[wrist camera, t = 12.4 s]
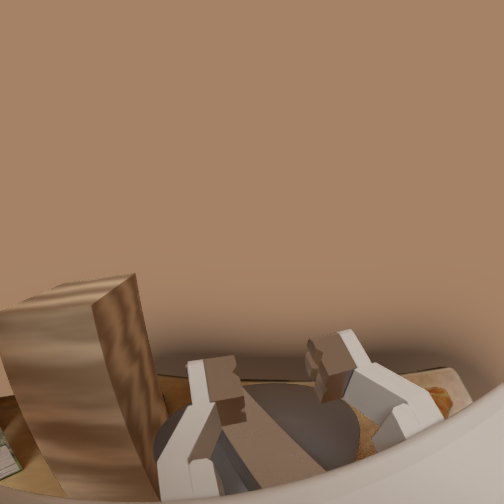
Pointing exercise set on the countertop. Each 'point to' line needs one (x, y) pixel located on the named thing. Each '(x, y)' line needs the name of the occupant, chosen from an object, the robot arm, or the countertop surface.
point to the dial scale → (288, 428)
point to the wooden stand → (88, 386)
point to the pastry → (441, 400)
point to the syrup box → (7, 459)
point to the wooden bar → (264, 450)
